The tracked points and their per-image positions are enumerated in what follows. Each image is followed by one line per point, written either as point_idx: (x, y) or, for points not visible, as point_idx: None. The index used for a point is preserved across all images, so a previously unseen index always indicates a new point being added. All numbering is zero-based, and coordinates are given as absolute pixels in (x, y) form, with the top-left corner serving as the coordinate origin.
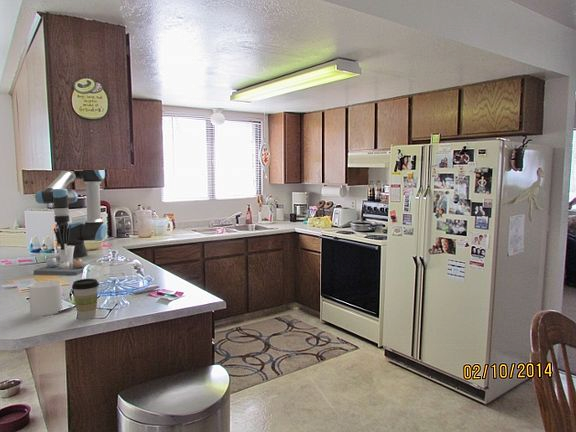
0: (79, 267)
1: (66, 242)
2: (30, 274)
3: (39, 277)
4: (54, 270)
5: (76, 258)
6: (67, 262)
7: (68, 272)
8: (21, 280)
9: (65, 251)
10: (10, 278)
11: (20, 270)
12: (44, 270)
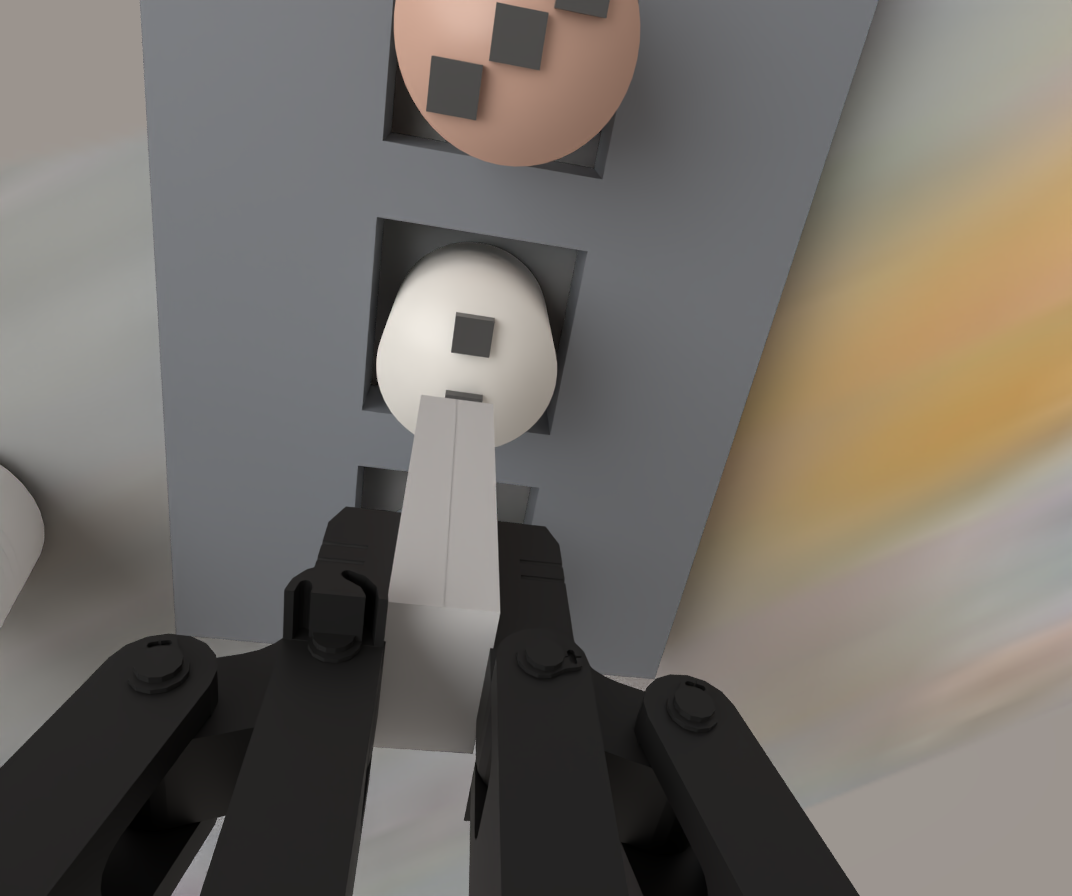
0: (392, 41)
1: (362, 643)
2: (671, 662)
3: (881, 486)
4: (709, 400)
5: (449, 86)
6: (458, 310)
7: (840, 90)
8: (987, 613)
9: (486, 452)
10: (839, 755)
11: (443, 839)
12: (682, 546)
